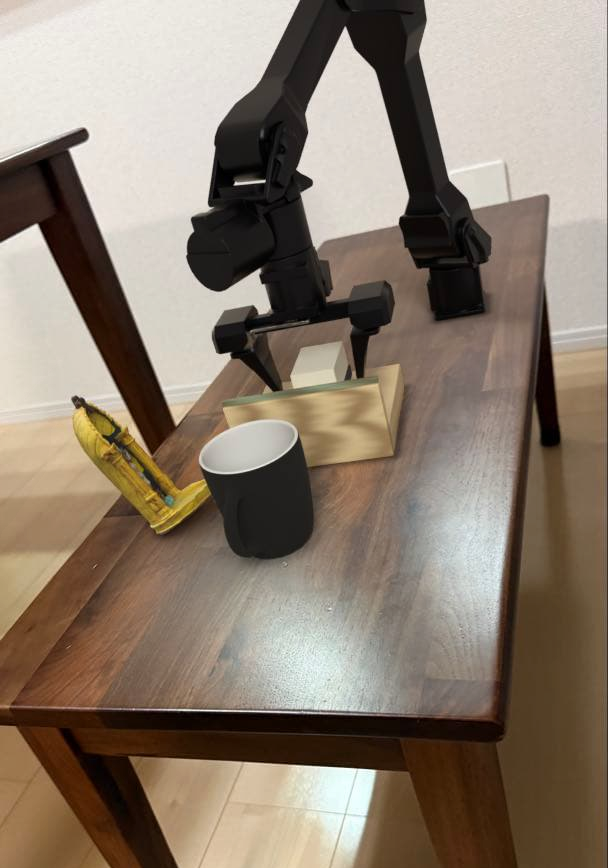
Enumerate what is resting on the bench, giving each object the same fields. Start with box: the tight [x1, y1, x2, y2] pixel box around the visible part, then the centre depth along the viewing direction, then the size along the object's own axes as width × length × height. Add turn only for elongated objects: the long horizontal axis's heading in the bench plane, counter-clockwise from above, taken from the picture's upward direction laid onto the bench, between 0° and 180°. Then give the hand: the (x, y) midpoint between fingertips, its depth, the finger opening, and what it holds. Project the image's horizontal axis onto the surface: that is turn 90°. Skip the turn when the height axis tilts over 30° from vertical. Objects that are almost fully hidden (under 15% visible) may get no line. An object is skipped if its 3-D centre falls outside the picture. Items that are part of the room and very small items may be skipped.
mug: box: [198, 419, 315, 560], centre depth 74 cm, size 12×9×10 cm
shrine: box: [70, 394, 212, 536], centre depth 81 cm, size 12×8×15 cm
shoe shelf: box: [221, 363, 405, 468], centre depth 91 cm, size 16×15×9 cm
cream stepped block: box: [289, 340, 353, 389], centre depth 91 cm, size 5×10×4 cm, turn 170°
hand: (321, 391), depth 92 cm, fingers open, 9 cm apart
